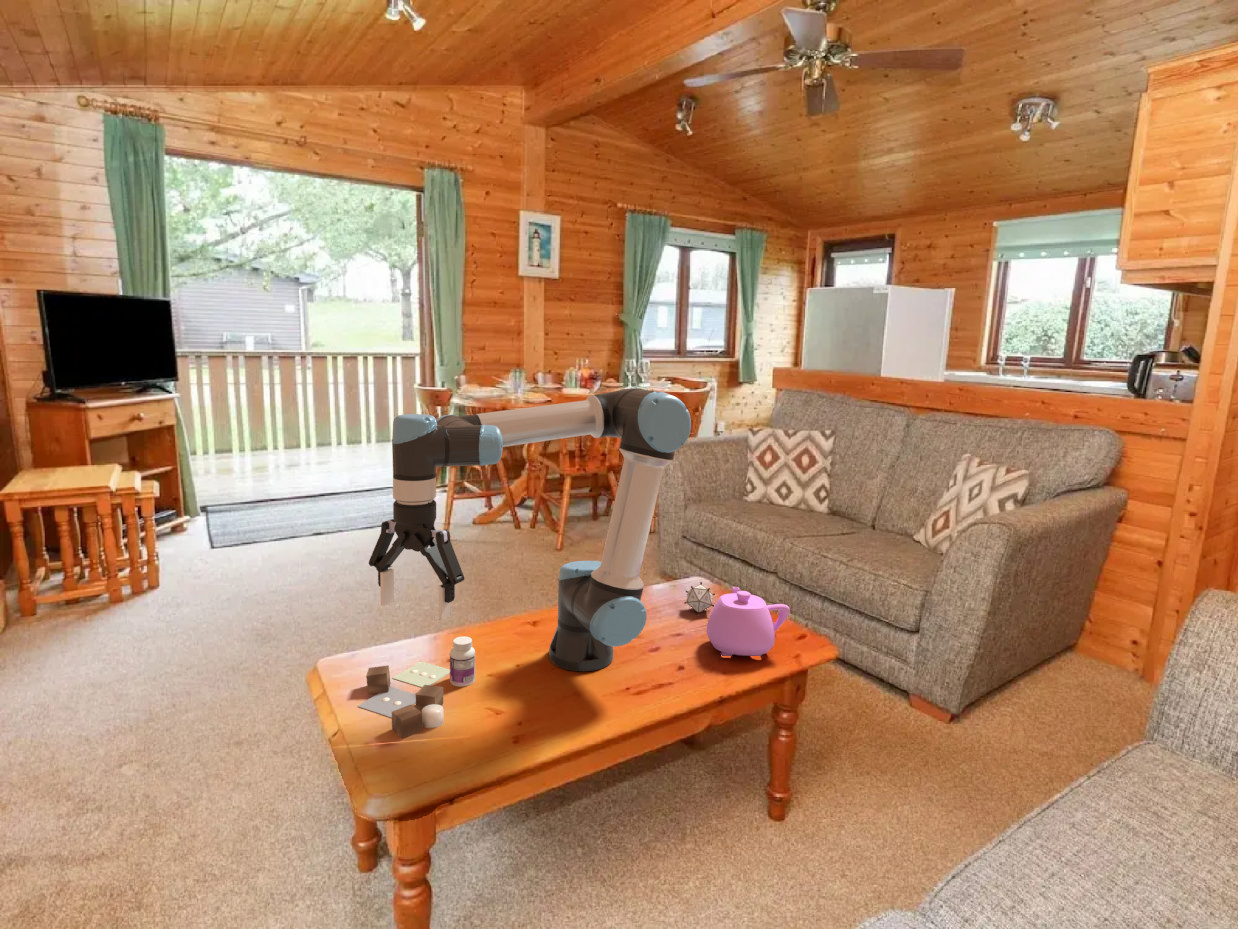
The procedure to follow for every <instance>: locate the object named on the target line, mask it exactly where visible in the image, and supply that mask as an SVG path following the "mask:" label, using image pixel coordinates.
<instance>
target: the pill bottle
mask: <svg viewBox="0 0 1238 929" xmlns="http://www.w3.org/2000/svg"><path fill="white" fill-rule="evenodd" d="M449 669H450V673H449V682H450V684H451V685H452V686H454V687H468V686H471V685H472V684H474V683H475V681H476V649H475V648H474V647H473V639H472V638H471V637H469V636H457V637H455V638H454V639H453V641H452V648H451V649H450V652H449Z"/></svg>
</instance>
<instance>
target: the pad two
mask: <svg viewBox="0 0 1238 929" xmlns="http://www.w3.org/2000/svg"><path fill="white" fill-rule="evenodd" d="M416 694H417V693H413V692H409V691H406V690H404V689H400V688H396V687H393V686H391V685H390V687H389V692H382V693H375V694H374V695H373V696H372V697H370V698H369V699H367V700H365V701H364V702H362V703H360V704H359V705H357V708H360V709H363V710H366V711H369V712H372V713H375V714H377V715H381V716H384V717H386V718H387V717H388V718H390V719H392V711H395V710H397V709H400V708H403V707H405V706H408V705H413V706H414V705H416Z"/></svg>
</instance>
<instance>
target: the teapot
mask: <svg viewBox="0 0 1238 929" xmlns="http://www.w3.org/2000/svg"><path fill="white" fill-rule="evenodd" d="M790 610H791V609H790V607H789V606H788V605H787V604H784V603H776V604H775V603H774V604H769V605H767V603H766V601H765V600H764V599H763V598H762V597H760V596H758V595H754V594H751V592H748V591H747V590H740V587H738V586H733V587H732V592H731V593H725V594H722V595H721V596H720V597H719V598H718V599H717V601H716V602H715V603H714V607H713V606H712V609H711V611H710V614H709V618H708V619H707V625H706V635H707V637H708V640H709V641H710V643H711V644H712V646H713V648H715V649H716V650H717V651H719V652H720V654H721V655H722V656H732V655H733V656H734V655H736V656H746V657H747V656H749V657H750V656H762V655H765V654H767V653H768V652H769V651H770V650H771V649H772V648H773V647H774V645H775V643H776V632H777V630H778V629H780V627H781V626H782V625H783V624H784V623H785V621H787V619H788V617H789V616H790ZM770 611H780V612H779V615H778V618H777V620H776V621H775V622H774V620H773V617H772V614H771V612H770ZM733 656H732V657H733Z"/></svg>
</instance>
